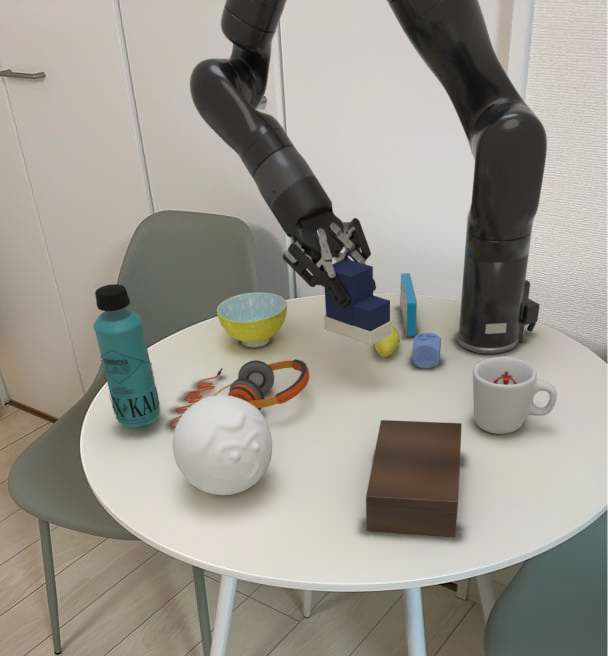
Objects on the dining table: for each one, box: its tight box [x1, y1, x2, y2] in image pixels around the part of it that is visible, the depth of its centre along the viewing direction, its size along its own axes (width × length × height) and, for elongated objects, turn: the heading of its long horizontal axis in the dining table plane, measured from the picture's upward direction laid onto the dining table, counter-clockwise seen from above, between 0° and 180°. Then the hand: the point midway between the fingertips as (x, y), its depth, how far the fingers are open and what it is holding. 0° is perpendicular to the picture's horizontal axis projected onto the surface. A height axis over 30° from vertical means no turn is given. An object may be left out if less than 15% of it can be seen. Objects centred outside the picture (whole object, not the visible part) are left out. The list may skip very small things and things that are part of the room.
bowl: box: [216, 291, 288, 348], centre depth 123 cm, size 11×12×6 cm
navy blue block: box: [323, 258, 393, 347], centre depth 105 cm, size 9×5×9 cm, turn 45°
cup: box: [472, 356, 558, 435], centre depth 98 cm, size 11×8×8 cm
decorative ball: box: [172, 394, 273, 496], centre depth 91 cm, size 12×12×12 cm
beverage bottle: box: [93, 283, 162, 428], centre depth 101 cm, size 6×7×20 cm
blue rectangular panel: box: [399, 272, 418, 338], centre depth 125 cm, size 12×2×6 cm, turn 179°
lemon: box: [374, 324, 401, 358], centre depth 119 cm, size 4×8×4 cm, turn 169°
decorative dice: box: [411, 332, 442, 369], centre depth 115 cm, size 4×4×4 cm
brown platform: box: [365, 419, 463, 538], centre depth 90 cm, size 16×10×5 cm, turn 170°
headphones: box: [169, 358, 310, 429], centre depth 108 cm, size 17×5×20 cm
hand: (359, 298), depth 105 cm, fingers closed on navy blue block, 4 cm apart
